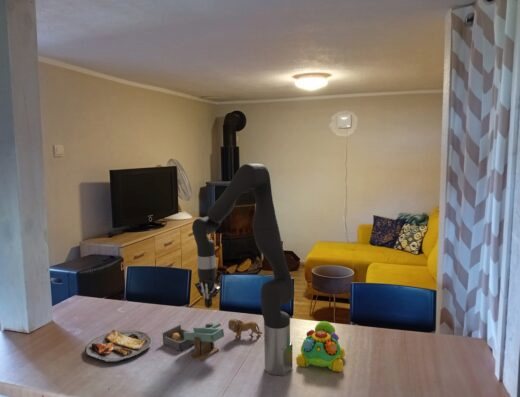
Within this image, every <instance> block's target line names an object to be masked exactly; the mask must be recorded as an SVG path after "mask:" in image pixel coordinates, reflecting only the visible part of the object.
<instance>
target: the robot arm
mask: <svg viewBox="0 0 520 397" xmlns="http://www.w3.org/2000/svg"><path fill="white" fill-rule="evenodd" d="M248 190H253V193H254V200H255V210H254V215H253V220H252V231H253V232H252V233H253V238H254V242H255V244H256V247H257V248H258V251H259V252H260V253H261V254H262V255H263V256H264V257H265V259H266V260H267V261H268V263H269V265H270V266H271V269H272V274H273V279H271V280H268V281H265V282H264V283H262V286H261V288H260V302H261V303H260V304H261V305H260V306H261V315H262V318H263V328H264V329H263V332H264V333H263V334H264V335H263V336H264V337H263V338H264V340H263V341H264V342H263V343H264V345H263V347H264V351H263V352H264V370H265V372H267V373H268V374H269V375H273V376H281V377H284V376H285V375H286V374H288V373H289V372H290V371H292V370H293V368H294V367H293V362H294V360H293V343H291V317H290V316H291V315H289V314H288V313H287V312H285V311H283V310H281V308H282V307H281V306H283V305H285V304H288V303H290V302H291V301H292V300H294V297H295V285H294V283H293V282H294V281H293V279H292V276H291V273H290V271H289V270H290V269H289V266H288V264H287V260H286V255H285V252H284V248H283V243H282V238H281V232H280V228H279V224H278V223H279V222H278V220H277V215H276V209H275V206H274V201H273V200H274V199H273V192H272V183H271V176H270V172H269V170H268V168H267V167H266V165H264V164H263V163H244V164H243V165H241V166H240V167H239V168H238V170H237V171H236V172H235V174H234V175H233V177H232V179H231V181H230V182H229V184H228V185H227V187H226V188H225V190H224V191H223V193H222V194H221V195H220V196H219V198H218V199H217V200H216V201H215V202H214V203H213V204H212V205H211V206H210V207H209V208H208V210H207V212H206V213H207V216H203V217H197V218H196V219H194V220H193V223H192V226H191V231H192V234H193V237H194V240H195V243H196V248H197V259H196V263H197V264H196V265H197V278H198V282H195V283H194V286H195V288H196V289H197V292H198V293H199V296H200V297H203V299H204V306H205V308H208V309H210V308H211V307H212V306H213V299H214V298H217V297H216V296H217V295H218V294H219V292H220V291H221V289H222V287H221V286H218V285H217V280H216V278H217V259H216V250H215V249H216V246H215V241H214V240H212V239H208V236H207V235H209V234H213V233H215V232H216V231H217V230H218V229H219V228H220V226H221V224H222V222H223V221H224V220H225V219H226V217H228V216H229V215H230V213H232V212H233V210H234V208H235V205H236V202H237V200H238V198H239V197H240V196H241V195H242V194H244V193H245V192H246V191H248Z"/></svg>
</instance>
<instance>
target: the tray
mask: <svg viewBox="0 0 520 397" xmlns="http://www.w3.org/2000/svg"><path fill="white" fill-rule="evenodd" d="M184 332H190V331H188V330H186V329H184V328H182V325H181V324H179V325H176V326H174V327H172V328H170V329H168V330H166V331H164V332H162V344H163V345H164V346H165V347H166V346H167V347H169V348H170V349H173V350H175V351H177V352H183V351H184V350H186V349H188V348H190V347H191V346H193V345H194V340H185V338H184ZM174 333H178V334H179V335H180V338H179V340H178V341H176V340H173V339H172V335H173V334H174Z"/></svg>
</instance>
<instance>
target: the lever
mask: <svg viewBox="0 0 520 397" xmlns="http://www.w3.org/2000/svg"><path fill="white" fill-rule="evenodd" d="M219 327H221V322H211V323H206V324H205V325H204V326H203V327H201V326H200V327H199V326H194V327H193V332H192V331H189V332H184V338H185V340H194V337H197V338H200V341H205V342H214V343H215V342H217V341H218V340H220V339H221V338H223V337H225V332H224V328H219Z"/></svg>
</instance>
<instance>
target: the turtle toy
mask: <svg viewBox="0 0 520 397" xmlns="http://www.w3.org/2000/svg"><path fill="white" fill-rule="evenodd" d="M305 335H306V337H305V338H304V340H303V342H302V344H301V347H300V352H301V353H298V354H297V356H296V358H295V359H296V365H297V366H298V367H302V368H306V367H309V366H311V365H313V366H315V367H321V368H325V367H327V368H328V369H329V370H331V371H332V372H337V373H338V372H339V373H341V372H343V369H344V362H343V360H344V358H345V355H346V352H345V348H344V347H341V345H340V344H339V339H340V337H339V336H338V334H336V328H335V327H334V325H333V324H331V322H329V321H326V320H323V321H320V322H317V324H316V325H315V327H314V329H310V330H308V331H307V332H306V334H305Z"/></svg>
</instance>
